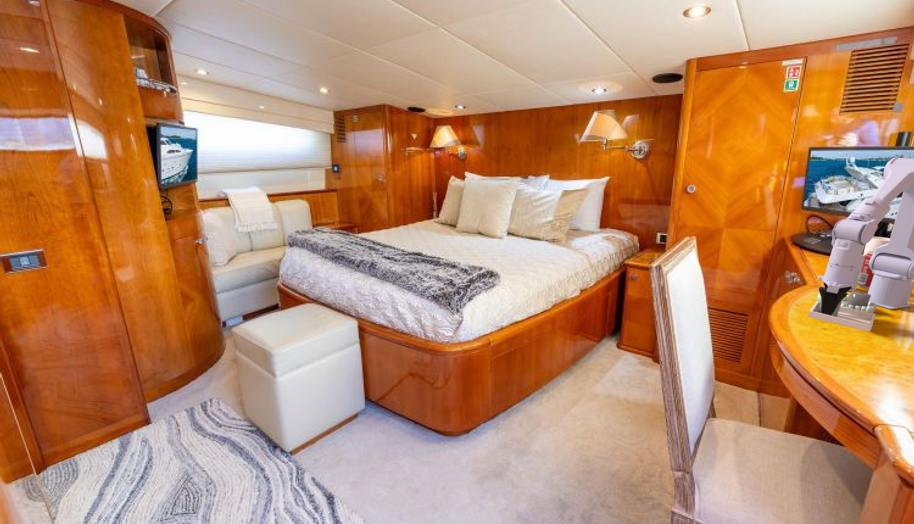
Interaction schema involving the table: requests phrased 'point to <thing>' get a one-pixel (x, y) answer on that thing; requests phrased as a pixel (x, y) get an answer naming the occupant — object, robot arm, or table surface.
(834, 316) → the pebble slate
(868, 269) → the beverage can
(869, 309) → the celadon bowl
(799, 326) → the table surface
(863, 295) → the pebble charcoal
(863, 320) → the parts tray
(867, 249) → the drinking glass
